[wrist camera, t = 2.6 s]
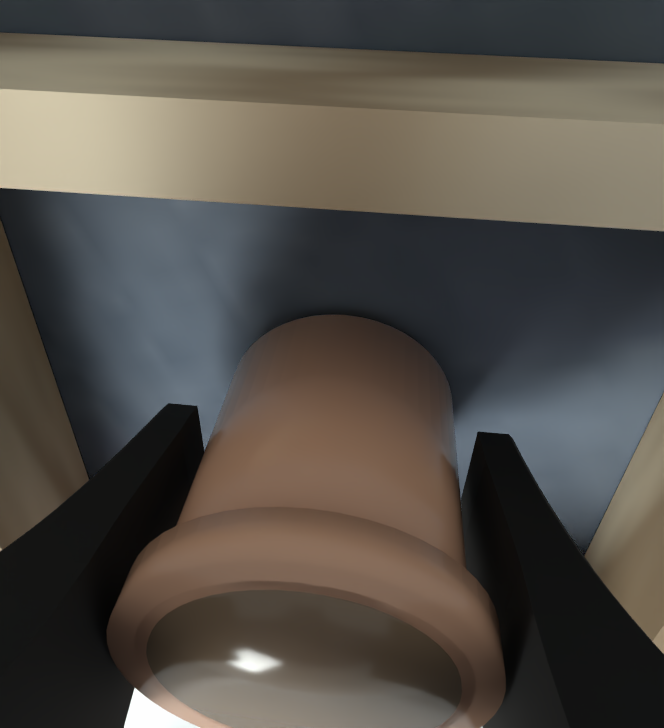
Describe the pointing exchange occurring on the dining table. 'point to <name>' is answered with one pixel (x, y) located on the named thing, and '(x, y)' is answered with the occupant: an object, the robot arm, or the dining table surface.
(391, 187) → the cold frame
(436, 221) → the dining table surface
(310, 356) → the terracotta pot
